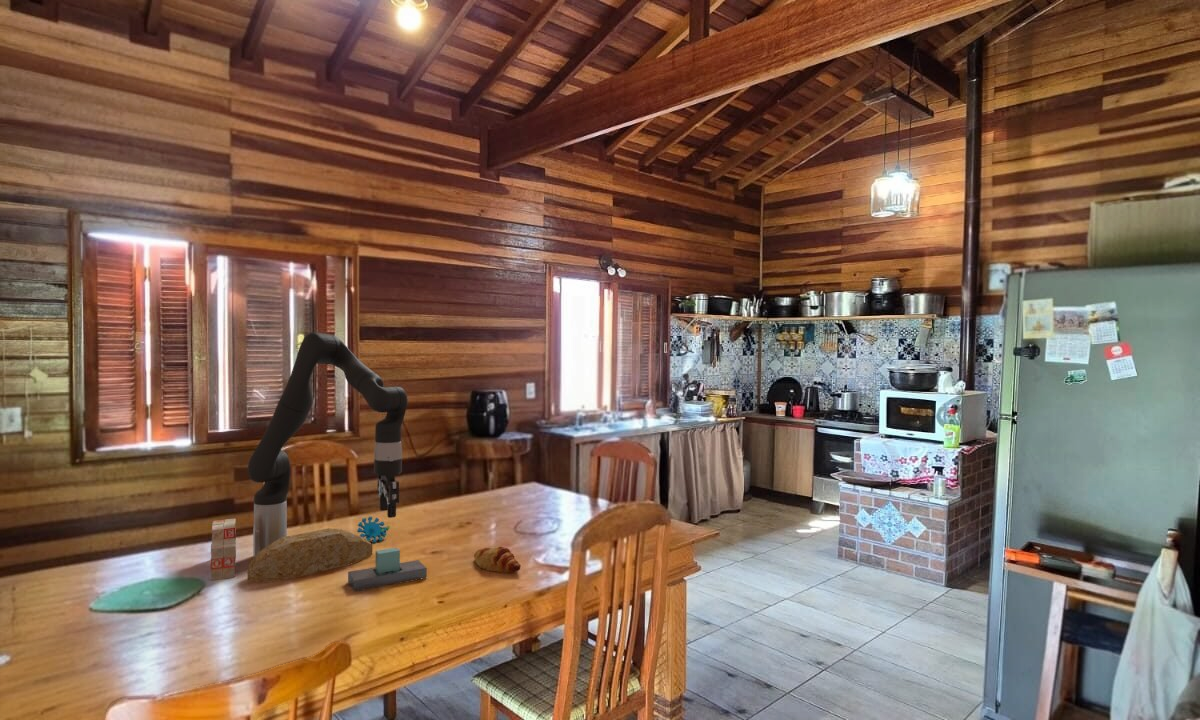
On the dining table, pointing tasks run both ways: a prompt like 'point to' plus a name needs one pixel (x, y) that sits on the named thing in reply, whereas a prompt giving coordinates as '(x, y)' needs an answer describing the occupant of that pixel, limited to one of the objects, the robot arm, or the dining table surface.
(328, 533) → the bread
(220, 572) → the stack of blocks
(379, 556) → the teal block
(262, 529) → the robot arm
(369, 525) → the gear
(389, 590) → the dining table surface
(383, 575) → the rail
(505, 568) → the croissant
